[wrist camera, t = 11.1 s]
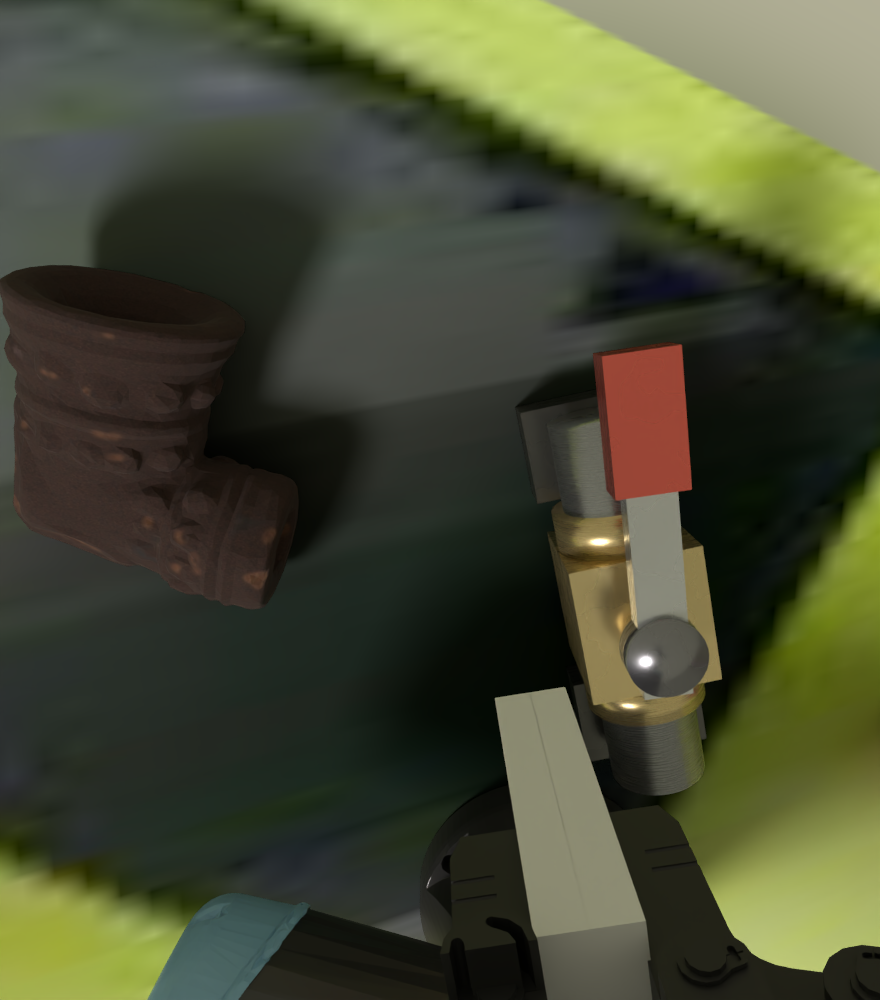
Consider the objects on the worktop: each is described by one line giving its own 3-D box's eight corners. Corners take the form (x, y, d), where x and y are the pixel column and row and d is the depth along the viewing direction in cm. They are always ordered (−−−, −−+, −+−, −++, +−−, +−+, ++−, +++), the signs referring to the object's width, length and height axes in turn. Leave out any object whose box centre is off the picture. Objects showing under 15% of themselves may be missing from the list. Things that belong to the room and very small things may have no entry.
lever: (698, 676, 38) (712, 695, 36) (621, 686, 38) (631, 706, 36) (673, 341, 34) (687, 344, 32) (588, 354, 34) (597, 357, 32)
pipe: (245, 657, 40) (296, 370, 34) (-49, 580, 40) (-50, 278, 34) (295, 566, 49) (342, 325, 43) (54, 503, 49) (68, 252, 43)
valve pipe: (692, 716, 50) (758, 821, 40) (580, 739, 50) (618, 848, 40) (640, 379, 45) (700, 403, 35) (515, 407, 45) (540, 438, 35)
